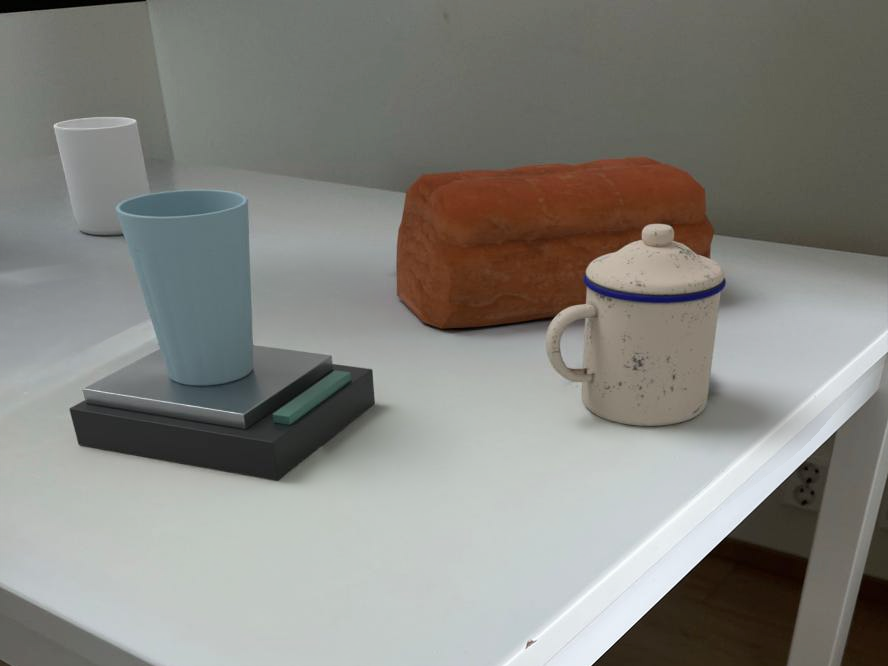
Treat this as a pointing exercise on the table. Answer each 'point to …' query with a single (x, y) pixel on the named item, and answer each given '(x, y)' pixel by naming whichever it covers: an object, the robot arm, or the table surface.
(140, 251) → the cup
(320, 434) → the scale
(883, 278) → the table surface
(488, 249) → the bread
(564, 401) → the table surface
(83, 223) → the mug
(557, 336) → the teacup with lid
